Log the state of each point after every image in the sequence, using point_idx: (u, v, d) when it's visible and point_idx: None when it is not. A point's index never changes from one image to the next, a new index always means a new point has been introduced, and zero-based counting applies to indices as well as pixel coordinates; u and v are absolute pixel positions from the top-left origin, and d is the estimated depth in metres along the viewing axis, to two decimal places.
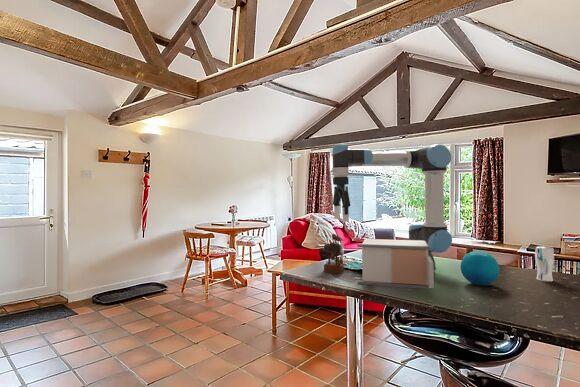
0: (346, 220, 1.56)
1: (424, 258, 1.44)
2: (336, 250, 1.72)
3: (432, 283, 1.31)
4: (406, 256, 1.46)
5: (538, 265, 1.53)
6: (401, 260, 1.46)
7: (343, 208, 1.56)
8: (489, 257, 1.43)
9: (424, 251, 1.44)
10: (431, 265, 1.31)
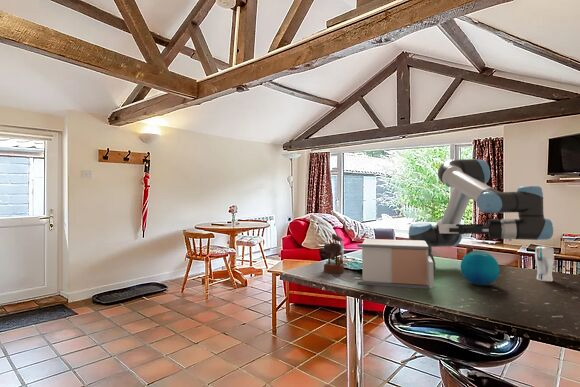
0: None
1: (424, 258, 1.44)
2: (336, 250, 1.72)
3: (432, 283, 1.31)
4: (406, 256, 1.46)
5: (538, 265, 1.53)
6: (401, 260, 1.46)
7: None
8: (489, 257, 1.43)
9: (424, 251, 1.44)
10: (431, 265, 1.31)
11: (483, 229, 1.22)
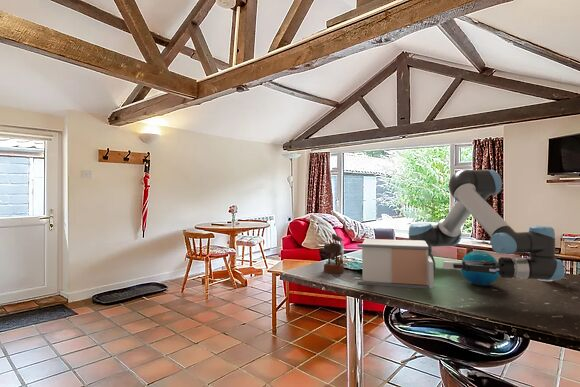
0: None
1: (424, 258, 1.44)
2: (336, 250, 1.72)
3: (432, 283, 1.31)
4: (406, 256, 1.46)
5: None
6: (401, 260, 1.46)
7: None
8: (489, 257, 1.43)
9: (424, 251, 1.44)
10: (431, 265, 1.31)
11: (489, 269, 1.23)
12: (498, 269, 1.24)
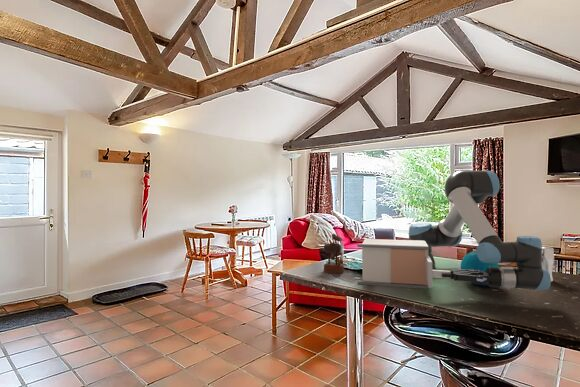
0: None
1: (423, 258, 1.44)
2: (336, 250, 1.72)
3: (431, 283, 1.31)
4: (405, 256, 1.46)
5: None
6: (400, 260, 1.47)
7: None
8: None
9: (423, 251, 1.44)
10: (430, 265, 1.31)
11: (477, 278, 1.24)
12: (485, 279, 1.25)
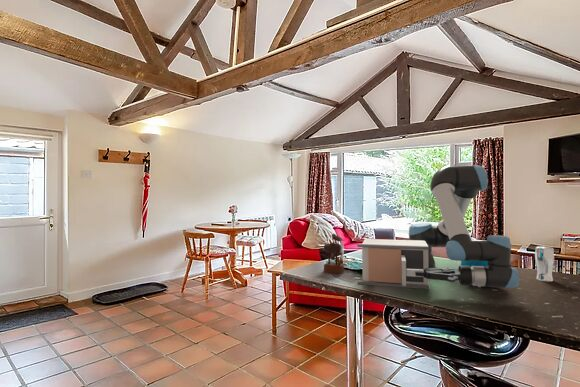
0: None
1: (399, 257, 1.47)
2: (336, 250, 1.72)
3: (405, 281, 1.34)
4: (382, 255, 1.49)
5: (538, 265, 1.53)
6: (377, 259, 1.49)
7: None
8: None
9: (399, 250, 1.47)
10: (404, 264, 1.34)
11: (448, 277, 1.27)
12: (456, 277, 1.27)
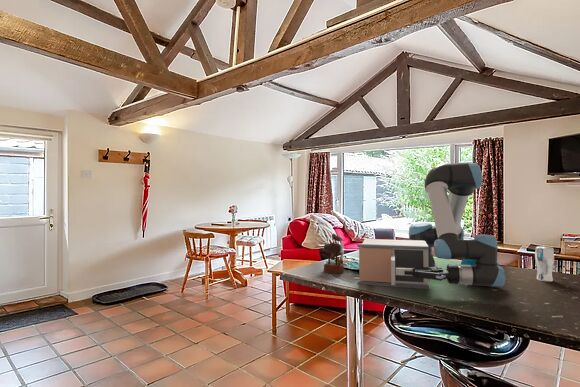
0: None
1: (389, 256, 1.48)
2: (336, 250, 1.72)
3: (394, 281, 1.35)
4: (372, 255, 1.50)
5: (538, 265, 1.53)
6: (368, 258, 1.51)
7: None
8: None
9: (389, 250, 1.48)
10: (393, 263, 1.35)
11: (436, 276, 1.29)
12: (444, 276, 1.29)
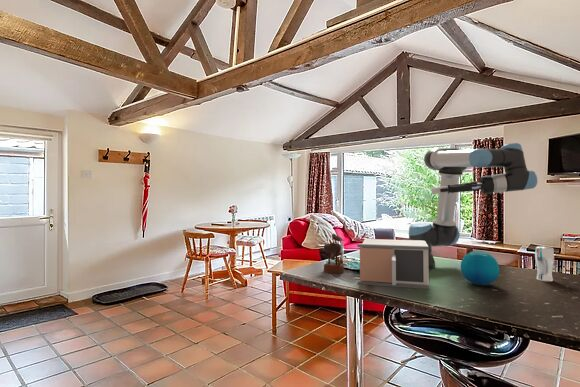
0: None
1: (390, 257, 1.48)
2: (336, 250, 1.72)
3: (395, 281, 1.35)
4: (373, 255, 1.50)
5: (538, 265, 1.53)
6: (368, 258, 1.51)
7: None
8: (489, 257, 1.43)
9: (390, 250, 1.48)
10: (394, 263, 1.35)
11: (472, 187, 1.36)
12: (480, 186, 1.37)
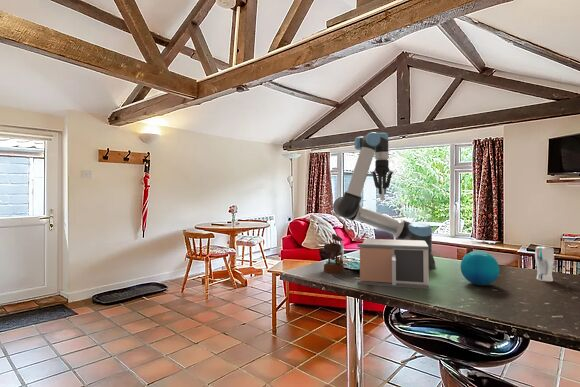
0: (381, 199, 1.96)
1: (390, 257, 1.48)
2: (336, 250, 1.72)
3: (395, 281, 1.35)
4: (373, 255, 1.50)
5: (538, 265, 1.53)
6: (368, 258, 1.51)
7: None
8: (489, 257, 1.43)
9: (390, 250, 1.48)
10: (394, 263, 1.35)
11: None
12: None
